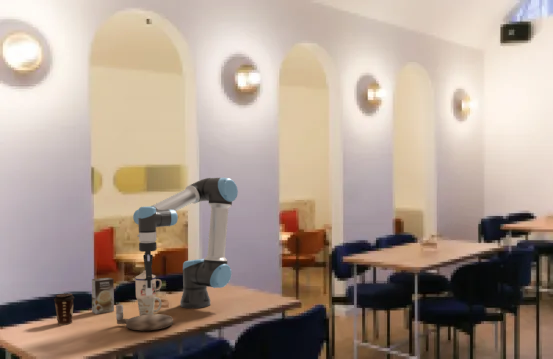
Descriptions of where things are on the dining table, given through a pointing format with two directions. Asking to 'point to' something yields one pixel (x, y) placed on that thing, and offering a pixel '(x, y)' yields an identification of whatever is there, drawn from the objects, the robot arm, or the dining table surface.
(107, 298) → the coffee box
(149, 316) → the turntable
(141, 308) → the mug
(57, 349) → the dining table surface
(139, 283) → the teacup with lid
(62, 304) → the coffee cup
